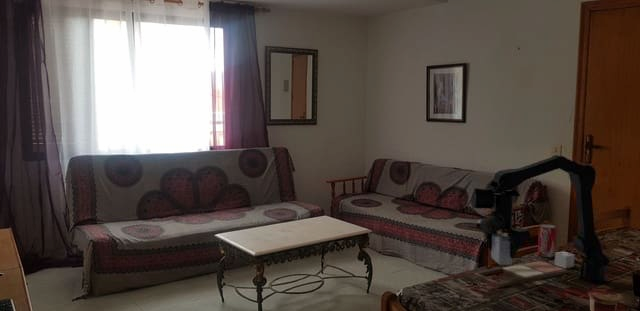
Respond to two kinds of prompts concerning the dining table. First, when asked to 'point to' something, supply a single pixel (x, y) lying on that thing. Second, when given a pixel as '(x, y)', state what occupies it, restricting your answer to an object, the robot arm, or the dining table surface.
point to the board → (520, 273)
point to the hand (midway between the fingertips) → (501, 254)
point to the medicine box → (501, 249)
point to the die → (564, 259)
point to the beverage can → (547, 240)
